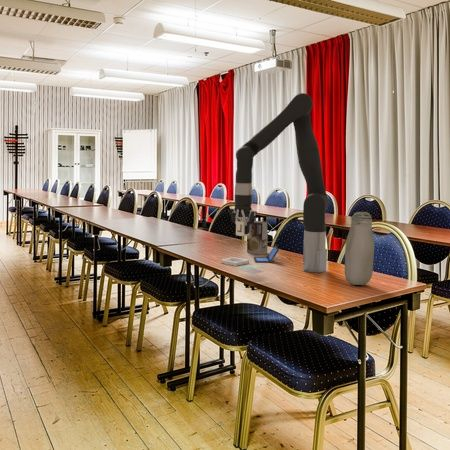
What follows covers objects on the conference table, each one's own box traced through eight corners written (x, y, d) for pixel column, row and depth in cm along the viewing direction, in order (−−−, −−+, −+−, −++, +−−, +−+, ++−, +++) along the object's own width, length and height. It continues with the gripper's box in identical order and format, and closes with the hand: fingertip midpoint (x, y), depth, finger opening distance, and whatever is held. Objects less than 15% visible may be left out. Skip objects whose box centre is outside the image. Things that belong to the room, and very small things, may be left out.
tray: (248, 264, 221) (249, 260, 220) (235, 267, 214) (235, 262, 214) (234, 261, 227) (234, 257, 226) (220, 264, 220) (220, 259, 220)
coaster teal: (254, 269, 210) (254, 267, 210) (245, 271, 206) (245, 270, 206) (243, 267, 214) (243, 265, 214) (234, 269, 210) (234, 267, 210)
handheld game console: (253, 259, 234) (253, 244, 233) (275, 259, 234) (276, 244, 233) (254, 264, 222) (255, 248, 221) (278, 265, 222) (279, 248, 221)
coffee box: (267, 252, 251) (268, 221, 249) (261, 254, 246) (262, 222, 244) (252, 250, 256) (253, 220, 254) (246, 252, 251) (247, 221, 249)
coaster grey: (264, 272, 204) (264, 271, 204) (255, 274, 200) (255, 273, 200) (253, 270, 208) (253, 269, 208) (244, 272, 204) (244, 271, 204)
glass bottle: (360, 289, 178) (364, 213, 175) (338, 284, 186) (342, 211, 183) (377, 286, 184) (381, 212, 181) (355, 280, 192) (359, 210, 189)
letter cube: (248, 235, 211) (249, 221, 210) (242, 236, 208) (243, 222, 207) (241, 234, 213) (242, 220, 213) (235, 235, 210) (236, 221, 209)
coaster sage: (264, 267, 214) (264, 266, 214) (256, 269, 210) (256, 268, 209) (254, 265, 218) (254, 264, 218) (245, 267, 214) (245, 266, 213)
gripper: (261, 194, 206) (260, 234, 209) (236, 192, 216) (235, 230, 218) (251, 194, 201) (249, 236, 203) (225, 193, 210) (224, 232, 212)
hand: (242, 233), depth 210 cm, fingers closed on letter cube, 4 cm apart
